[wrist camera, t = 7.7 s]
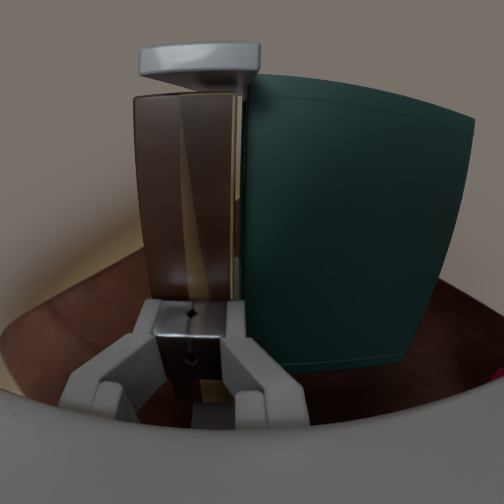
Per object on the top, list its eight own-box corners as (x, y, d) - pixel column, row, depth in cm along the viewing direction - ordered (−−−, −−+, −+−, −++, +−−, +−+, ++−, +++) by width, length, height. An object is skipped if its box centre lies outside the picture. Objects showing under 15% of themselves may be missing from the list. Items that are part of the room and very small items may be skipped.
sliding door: (234, 304, 18) (237, 97, 12) (234, 403, 11) (237, 91, 6) (192, 303, 17) (182, 99, 12) (176, 401, 11) (131, 96, 6)
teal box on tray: (347, 264, 24) (370, 101, 18) (428, 417, 11) (550, 134, 5) (211, 263, 23) (210, 87, 17) (191, 444, 10) (137, 47, 4)
